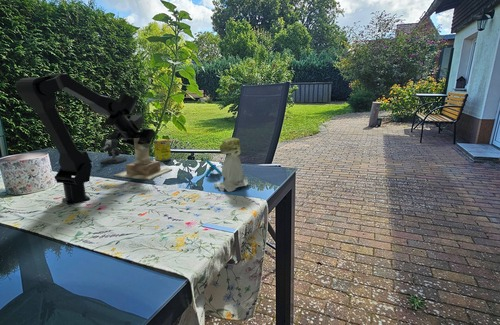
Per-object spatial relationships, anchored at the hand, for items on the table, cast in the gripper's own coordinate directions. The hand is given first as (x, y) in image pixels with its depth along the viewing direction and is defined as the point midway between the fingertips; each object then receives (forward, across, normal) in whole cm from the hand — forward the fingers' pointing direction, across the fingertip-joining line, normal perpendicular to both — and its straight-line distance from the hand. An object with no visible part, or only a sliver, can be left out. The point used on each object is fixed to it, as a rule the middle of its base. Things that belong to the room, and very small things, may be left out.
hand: (143, 147), depth 122 cm
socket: (+7, 0, +9) cm, 12 cm away
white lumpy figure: (+4, -44, +13) cm, 46 cm away
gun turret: (+16, +29, +1) cm, 33 cm away
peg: (+4, 0, +6) cm, 7 cm away
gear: (+12, -31, +5) cm, 33 cm away
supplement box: (+24, +7, -8) cm, 26 cm away
